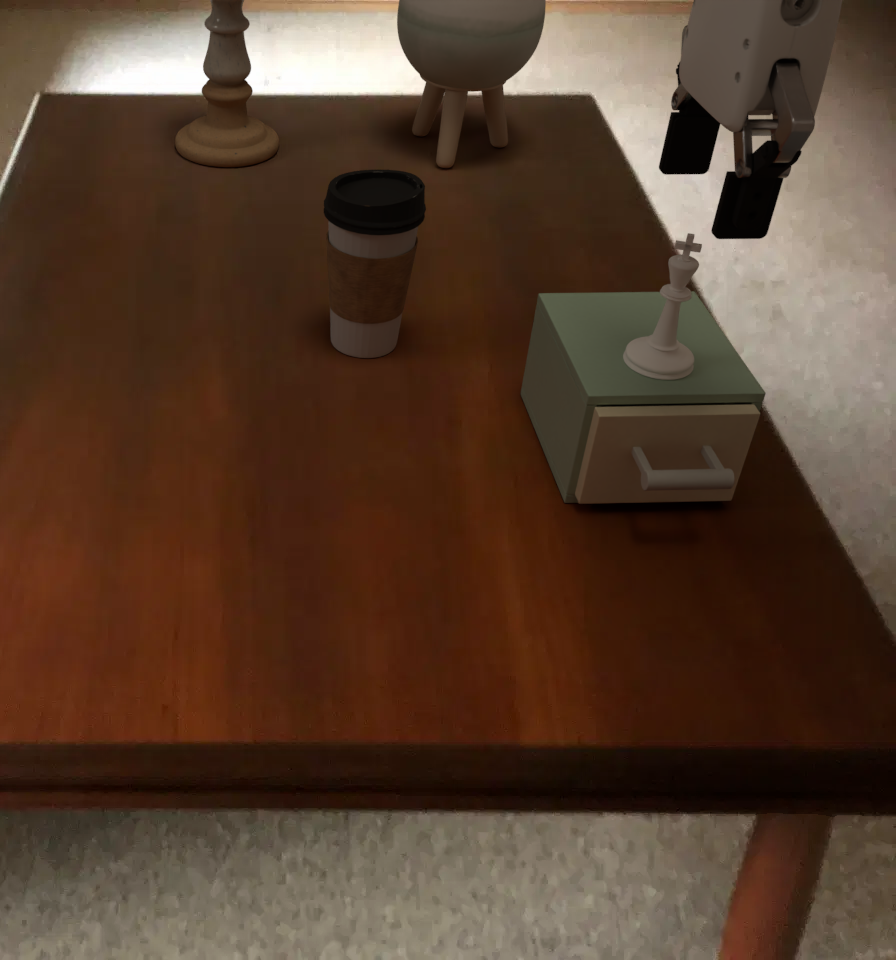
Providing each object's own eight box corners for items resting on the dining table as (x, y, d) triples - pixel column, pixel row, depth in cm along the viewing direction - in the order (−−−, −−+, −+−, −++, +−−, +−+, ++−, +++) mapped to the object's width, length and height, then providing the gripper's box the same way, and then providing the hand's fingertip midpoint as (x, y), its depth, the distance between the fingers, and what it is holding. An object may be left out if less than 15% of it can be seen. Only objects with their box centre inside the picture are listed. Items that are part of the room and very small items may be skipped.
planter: (542, 142, 142) (576, -56, 129) (489, 188, 132) (520, -22, 118) (422, 114, 149) (442, -77, 135) (362, 156, 138) (377, -46, 125)
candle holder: (153, 150, 139) (146, -30, 126) (219, 120, 147) (217, -53, 134) (236, 177, 133) (236, -9, 121) (299, 144, 141) (306, -34, 128)
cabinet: (730, 500, 88) (766, 393, 82) (564, 503, 87) (588, 395, 82) (667, 391, 100) (694, 290, 94) (519, 394, 99) (538, 292, 93)
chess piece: (692, 385, 83) (729, 256, 77) (620, 373, 84) (651, 245, 78) (694, 350, 86) (729, 225, 80) (625, 339, 88) (655, 214, 82)
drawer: (753, 538, 83) (785, 449, 78) (594, 541, 83) (616, 452, 78) (671, 398, 97) (694, 315, 92) (535, 400, 97) (551, 317, 92)
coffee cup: (408, 370, 102) (426, 208, 92) (311, 361, 103) (319, 200, 93) (413, 321, 108) (430, 166, 99) (321, 313, 109) (330, 158, 100)
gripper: (933, -57, 57) (826, 265, 67) (788, -124, 71) (717, 151, 81) (781, -57, 57) (697, 266, 67) (665, -125, 71) (610, 152, 81)
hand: (708, 203), depth 74 cm, fingers open, 9 cm apart
